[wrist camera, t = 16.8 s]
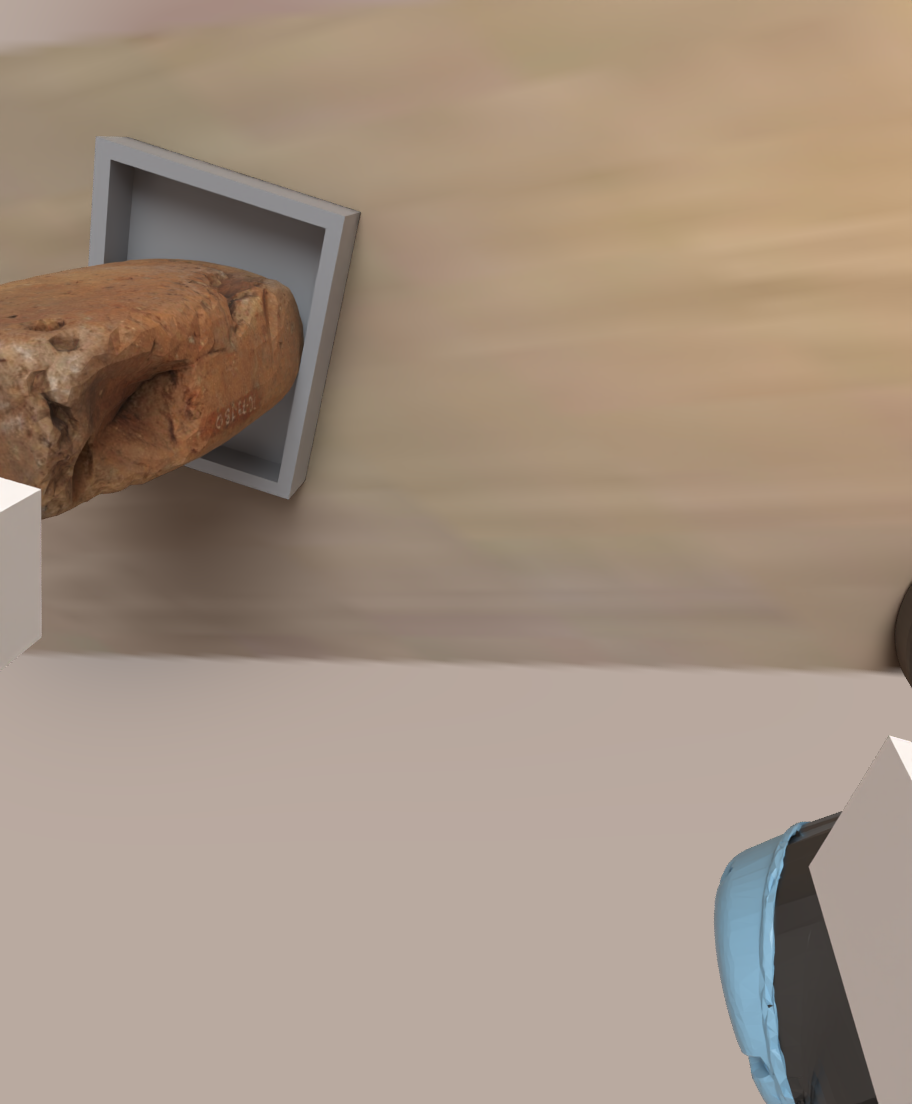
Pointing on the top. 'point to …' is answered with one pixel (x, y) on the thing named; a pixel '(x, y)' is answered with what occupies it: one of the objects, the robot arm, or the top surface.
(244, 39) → the top surface
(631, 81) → the top surface
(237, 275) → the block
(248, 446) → the tray
